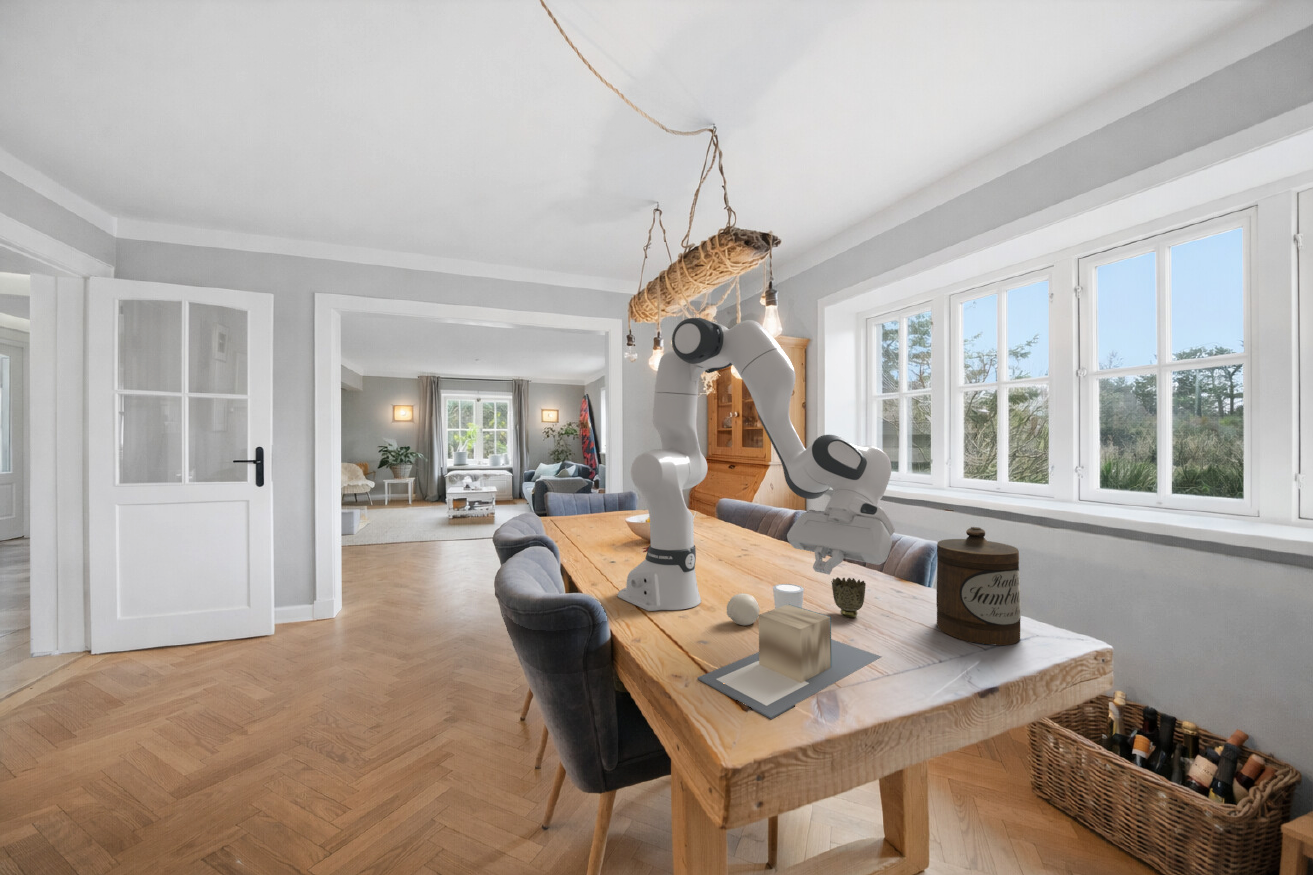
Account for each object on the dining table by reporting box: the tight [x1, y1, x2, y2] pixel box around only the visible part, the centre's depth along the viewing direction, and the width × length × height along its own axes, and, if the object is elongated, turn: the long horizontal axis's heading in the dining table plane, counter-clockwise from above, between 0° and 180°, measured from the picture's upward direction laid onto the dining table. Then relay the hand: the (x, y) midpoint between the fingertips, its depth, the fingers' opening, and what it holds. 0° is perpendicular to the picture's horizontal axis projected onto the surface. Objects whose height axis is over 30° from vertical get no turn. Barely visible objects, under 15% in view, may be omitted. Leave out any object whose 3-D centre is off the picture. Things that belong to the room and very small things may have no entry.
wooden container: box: [936, 526, 1022, 646], centre depth 105 cm, size 15×15×22 cm
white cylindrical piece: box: [772, 583, 805, 609], centre depth 115 cm, size 7×7×7 cm
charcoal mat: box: [697, 638, 883, 720], centre depth 90 cm, size 32×16×1 cm, turn 128°
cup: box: [830, 576, 867, 619], centre depth 115 cm, size 8×7×8 cm
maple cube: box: [758, 604, 832, 683], centre depth 90 cm, size 9×9×9 cm
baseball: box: [726, 592, 760, 627], centre depth 111 cm, size 7×7×7 cm
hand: (820, 571), depth 95 cm, fingers closed
